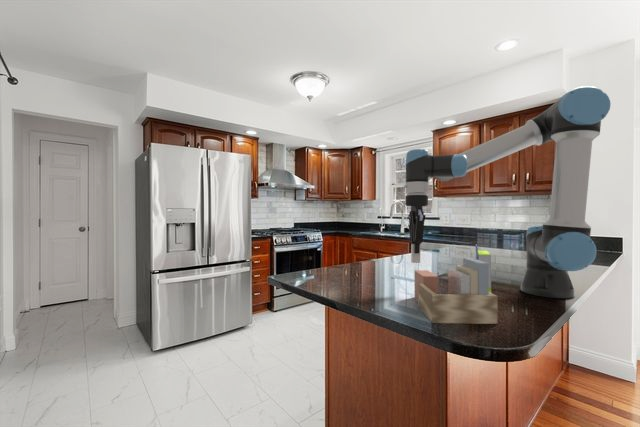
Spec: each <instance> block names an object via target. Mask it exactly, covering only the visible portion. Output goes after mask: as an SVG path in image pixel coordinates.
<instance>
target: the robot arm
mask: <svg viewBox="0 0 640 427" xmlns="http://www.w3.org/2000/svg"><path fill="white" fill-rule="evenodd" d="M610 109H611V100H610V97H609V95H608V94H607V93H606V92H605V91H603V90H602V89H600V88H598V87H595V86H591V85H590V86H589V85H588V86H587V85H585V86H584V85H583V86H580V87H576V88H573V89H572V90H571V91H568V92H566V93H565V94H563V95H562V96H561V98H560V99H559V100H557V101H556V102H555V103H553V104H552V105H551V106H550V107H548V108H547V109H545V110H544V111H542V112H541V113H540V114H538V115H536V116H535V117H533V118H531V119H528V120H527V121H526V123H525V124H524V125H521V126H519V127H517V128H515V129H513V130H511V131H509V132H506V133H503V134H502V135H499V136H497V137H494V138H492V139H490V140H487V141H485V142H482V143H480V144H478V145H476V146H475V147H472V148H469V149H467V150H465V151H463V152H460V153H458V154H457V153H454V154H440V155H439V154H437V155H431V154H430V152H429V150H428V149H425V148H424V149H423V148H417V149H410V150H409V151H407V153H406V156H405V157H406V158H405V184H404V185H403V186H404V187H403V188H405V194H406V196H405V201H404V202H405V206H406V207H410V211H409V214H408V215H407V217H408V222H409V223H408V225H409V226H408V227H409V228H408V229H409V230H408V231H409V241H410V244H411V247H410V248H411V253H410V258H411V259H410V260H411V261H410V263H412V264H417V263H418V264H421V244H422V243H423V242H424V241H423V240H424V230H425V222H426V221H425V220H426V214H425V213H424V211H423V207H428V205H429V196H428V194H429V178H436V179H437V180H438V181H440V182H449V181H451V180H453V179H455V178H461V177H466V176H467V175H466V174H467V173H469V172H471V171H473V170H475V169H476V170H477V169H479V168H480V167H484V166H486V165H488V164H490V163H493V162H495V161H497V160H500V159H502V158H505V157H508V156H509V155H512V154H514V153H515V154H516V153H517V152H519V151H521V150H524V149H527V148H529V147H531V146H534V145H535V146H539V147H540V146H541V145H544V144H546V143H549V142H552V141H554V142H555V152H554V164H553V174H552V184H551V188H552V189H551V196H550V197H551V198H550V207H549V209H550V210H549V218H548V219H547V220H546V221H545V222H543V223H542V225H536V226H530V227H528V228H527V229H526V235H525V238H526V248H525V249H526V250H525V252H526V270H525V271H524V272H525V273H524V275H523V277H522V279H521V280H522V281H521V283H520V291H521V292H523V293H525V294H529V295H532V296H537V297H541V298H542V297H543V298H551V299H570V298H574V297H575V288H574V286H573V282H572V280H571V278H570V275H569V272H578V271H581V270H584V269H586V268H588V267H589V266H591V264H593V262H594V261H595V259H596V257H597V246H596V244H595V242H594V241H593V239H592V238H591V232H592V231H591V230H592V226H590V225H589V224H588V223H587V221H586V214H587V213H586V212H587V200H588V190H589V181H590V180H589V179H590V168H591V161H592V160H591V158H592V157H591V156H592V149H593V148H592V147H593V141H594V140H595V139H596V138H597V137H599V136H600V134H601V125H602V120H604V119H605V118H606V117H607V115H608V114H609V111H610Z"/></svg>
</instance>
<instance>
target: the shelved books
mask: <svg viewBox="0 0 640 427" xmlns="http://www.w3.org/2000/svg"><path fill="white" fill-rule="evenodd" d="M462 262H463V264H456V265H455V269H458V270H460V271H462V272H464V273H466V274H469V275H470V295H489V263H486V262H483V261H480V260H476V258H473V257H463V258H462Z"/></svg>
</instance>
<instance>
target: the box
mask: <svg viewBox="0 0 640 427" xmlns="http://www.w3.org/2000/svg"><path fill="white" fill-rule="evenodd" d="M491 258H492V255H491V253H490V252H489V250H479V247H478V245H477V244H475V259H476V260H480V261H483V262H486V263H489V292H490V293H492V259H491Z"/></svg>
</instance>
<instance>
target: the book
mask: <svg viewBox="0 0 640 427" xmlns="http://www.w3.org/2000/svg"><path fill="white" fill-rule="evenodd" d="M419 284H424V285H425V286H426V287H427V288H429V289H430V290H431V291H433V292H434V293H435V294H439V276H438V275H437V274H435V273H433V272H432V271H430V270H427V269H426V270H421V269H420V270H419V269H417V270H415V269H414V298H415V300H417V302H419Z"/></svg>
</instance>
